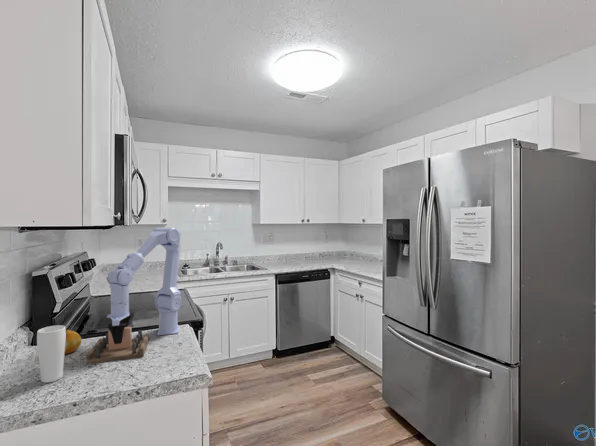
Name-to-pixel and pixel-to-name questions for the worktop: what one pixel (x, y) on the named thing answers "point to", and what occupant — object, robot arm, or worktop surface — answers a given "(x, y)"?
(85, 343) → the worktop surface
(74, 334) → the fruit
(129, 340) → the pink square slab
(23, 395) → the worktop surface
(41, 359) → the drinking glass
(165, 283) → the robot arm
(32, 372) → the worktop surface
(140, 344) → the rack
